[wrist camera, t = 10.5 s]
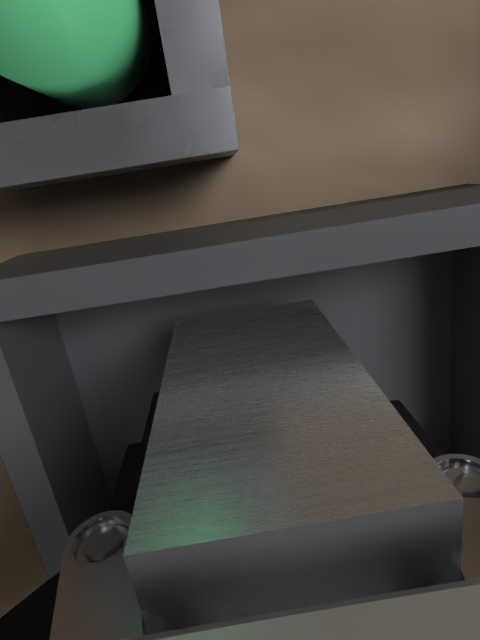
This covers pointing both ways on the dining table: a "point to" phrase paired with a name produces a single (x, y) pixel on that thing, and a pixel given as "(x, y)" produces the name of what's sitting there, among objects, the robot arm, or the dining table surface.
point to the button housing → (130, 114)
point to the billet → (280, 478)
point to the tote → (217, 298)
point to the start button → (76, 48)
